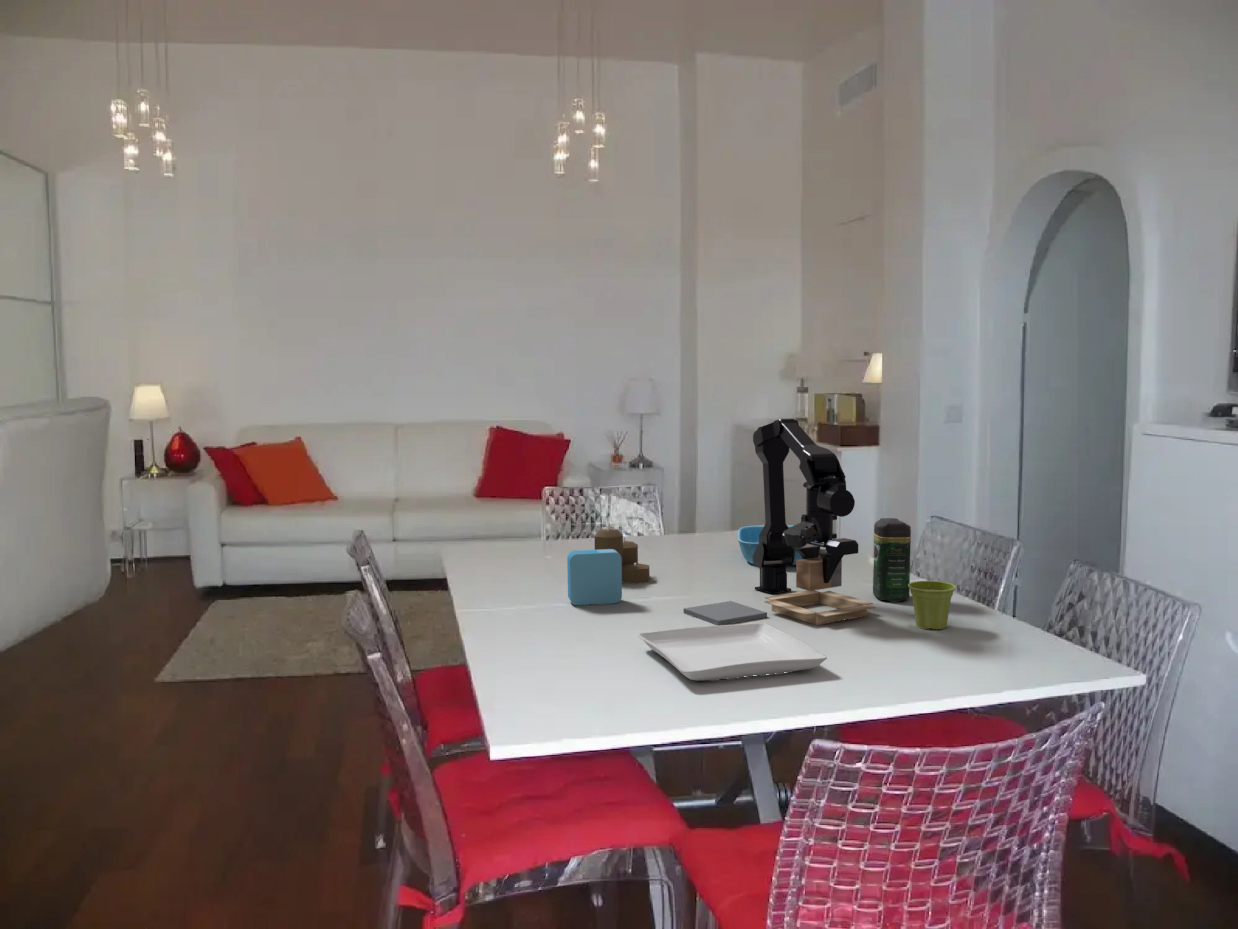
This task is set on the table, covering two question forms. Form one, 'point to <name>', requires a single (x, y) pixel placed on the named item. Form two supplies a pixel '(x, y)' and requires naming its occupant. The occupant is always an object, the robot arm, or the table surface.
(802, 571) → the block
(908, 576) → the coffee jar
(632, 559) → the candle
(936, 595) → the plant pot
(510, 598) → the table surface
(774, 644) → the square plate
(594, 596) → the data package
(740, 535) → the casserole dish
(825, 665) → the table surface
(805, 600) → the wooden square frame
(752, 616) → the mat
